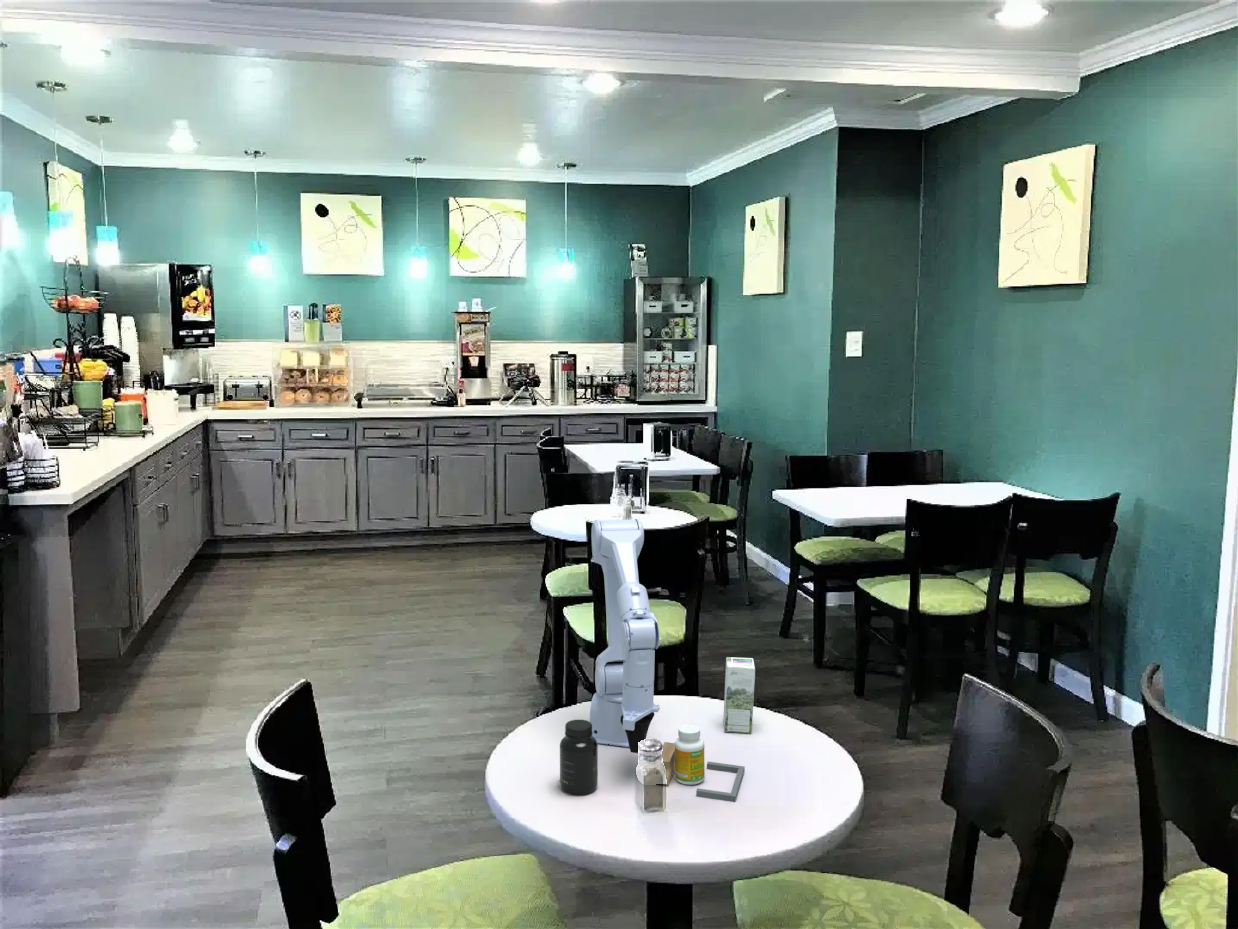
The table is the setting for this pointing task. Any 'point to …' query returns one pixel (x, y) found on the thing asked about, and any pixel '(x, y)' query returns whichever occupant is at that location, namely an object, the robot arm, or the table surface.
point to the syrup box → (739, 695)
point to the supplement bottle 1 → (578, 759)
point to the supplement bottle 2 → (689, 755)
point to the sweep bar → (669, 759)
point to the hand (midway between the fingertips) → (636, 751)
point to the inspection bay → (736, 785)
